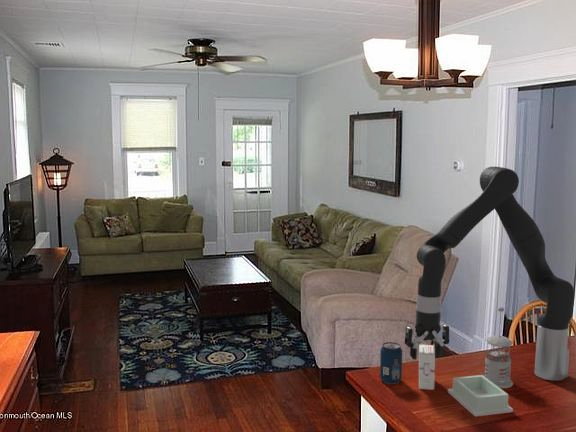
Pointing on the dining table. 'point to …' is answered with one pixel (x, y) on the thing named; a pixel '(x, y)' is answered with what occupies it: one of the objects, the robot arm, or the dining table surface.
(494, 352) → the french press
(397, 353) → the soda can
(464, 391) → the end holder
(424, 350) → the ink cartridge box
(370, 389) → the dining table surface
